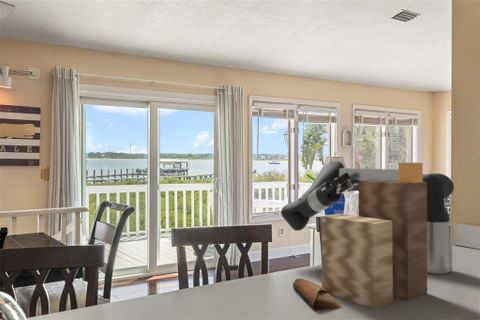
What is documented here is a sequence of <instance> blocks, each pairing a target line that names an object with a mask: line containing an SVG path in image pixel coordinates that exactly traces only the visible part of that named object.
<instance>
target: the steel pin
mask: <svg viewBox="0 0 480 320" xmlns="http://www.w3.org/2000/svg"><path fill="white" fill-rule="evenodd" d="M423 165H424V164H423V162H398V168H397V169H396V168H356V167H354V168H353V167H351V168H348V167H344V168H339V177H340V176H341V175H343V174H344V173H348V174H349V176H350V179H349V180H366V181H386V182H401V183H418V182H423V174H424V172H423V171H424V169H423V168H424V167H423Z"/></svg>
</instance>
